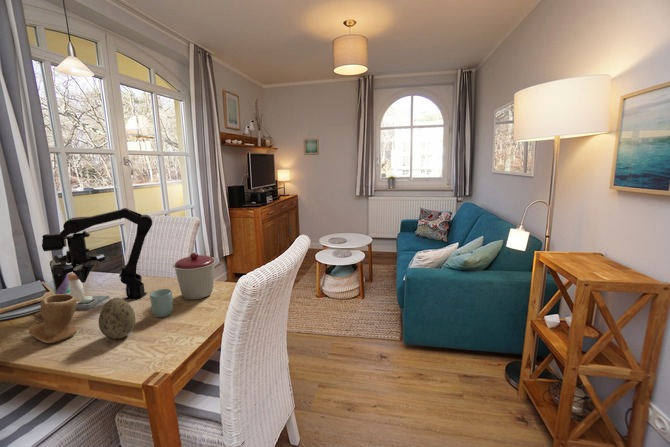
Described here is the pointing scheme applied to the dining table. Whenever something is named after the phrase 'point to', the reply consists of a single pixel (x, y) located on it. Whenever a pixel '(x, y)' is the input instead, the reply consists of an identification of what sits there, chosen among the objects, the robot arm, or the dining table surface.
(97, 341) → the dining table surface
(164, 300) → the cup
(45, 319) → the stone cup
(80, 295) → the white pink-capped bottle
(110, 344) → the dining table surface
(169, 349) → the dining table surface
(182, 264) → the canister
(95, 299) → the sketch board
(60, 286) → the spray can
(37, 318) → the stand
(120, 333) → the decorative egg
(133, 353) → the dining table surface
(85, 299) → the button
